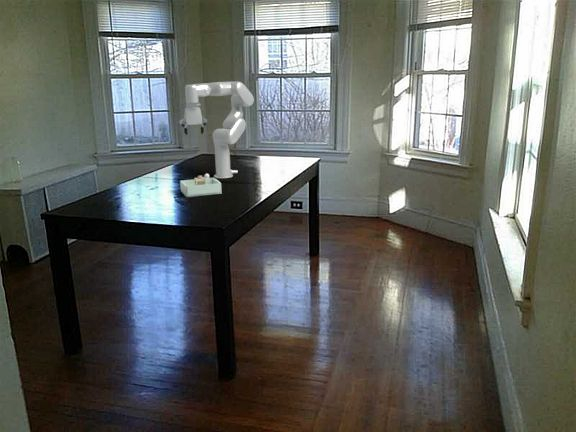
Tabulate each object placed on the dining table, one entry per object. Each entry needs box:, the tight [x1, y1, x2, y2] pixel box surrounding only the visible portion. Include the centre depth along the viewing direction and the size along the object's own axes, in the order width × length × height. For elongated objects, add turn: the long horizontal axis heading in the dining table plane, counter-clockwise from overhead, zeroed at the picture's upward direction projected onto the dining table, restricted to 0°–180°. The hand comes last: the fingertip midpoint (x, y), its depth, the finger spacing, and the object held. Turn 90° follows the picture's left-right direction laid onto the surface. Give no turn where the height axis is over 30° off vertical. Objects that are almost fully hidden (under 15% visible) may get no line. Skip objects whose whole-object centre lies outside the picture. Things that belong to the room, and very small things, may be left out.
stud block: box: [203, 173, 222, 184], centre depth 318 cm, size 14×12×7 cm
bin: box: [179, 177, 223, 198], centre depth 299 cm, size 20×18×6 cm
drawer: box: [194, 175, 206, 185], centre depth 299 cm, size 6×6×8 cm
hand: (194, 134), depth 318 cm, fingers open, 9 cm apart
